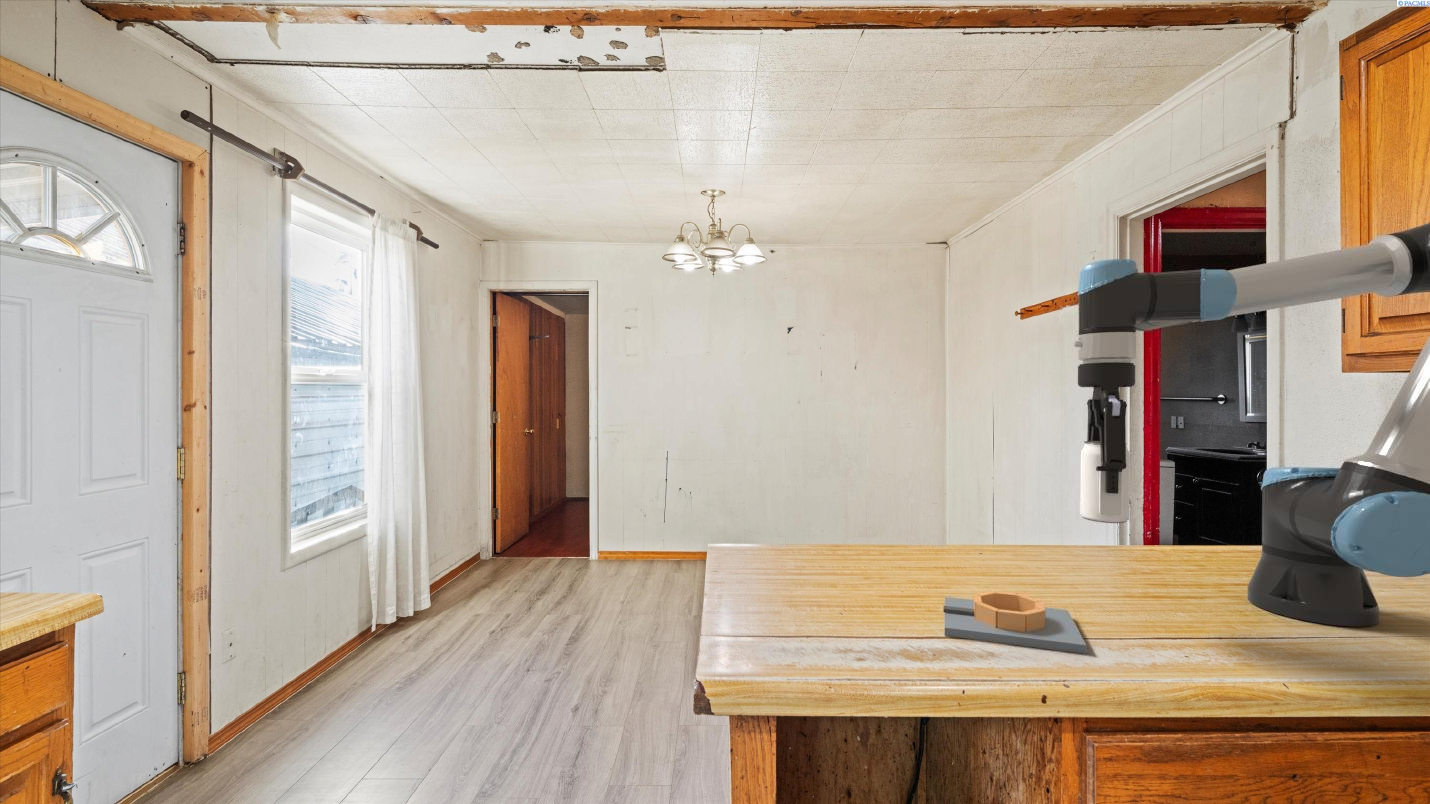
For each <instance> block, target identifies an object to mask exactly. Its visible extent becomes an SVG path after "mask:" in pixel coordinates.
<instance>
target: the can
mask: <svg viewBox="0 0 1430 804" xmlns="http://www.w3.org/2000/svg"><path fill="white" fill-rule="evenodd" d="M1083 444H1084V445H1083V447H1082V449H1081V451H1080V471H1079V472H1080V477H1079V479H1080V481H1079V482H1080V488H1079V489H1080V490H1079V493H1080V494H1079V495H1080V496H1079V497H1080V498H1079V499H1080V500H1079V507H1080V508H1079V512H1080V513H1079V514H1080V516H1081V517H1082V519H1084V520H1086V521H1091V522H1096V523H1104V524H1125V523H1127V522H1128V521H1129V520H1130V502H1131V501H1130V496H1131V495H1130V490H1131V486H1130V485H1131V483H1130V481H1131V479H1130V478H1131V455H1130V454H1131V453H1130V451H1129V449H1128V448H1127V446H1126V468H1125V469H1123V470H1122V478H1121V515H1107V514H1099V471H1096V467H1097V466H1101V449H1100V441H1087V440H1086V441H1084V442H1083ZM1127 444H1128V443H1127V442H1126V445H1127Z"/></svg>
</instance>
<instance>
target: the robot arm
mask: <svg viewBox="0 0 1430 804" xmlns="http://www.w3.org/2000/svg"><path fill="white" fill-rule="evenodd" d="M1419 293H1420V294H1423V293H1430V222H1428V223H1425V224H1422V225H1419V226H1415V227H1412V228H1409V229H1406V230H1401V231H1399V232H1393V233H1387V234H1383V235H1382V234H1381V235H1378V236H1376V237H1374V238H1373V239H1372V240H1371V241H1369V242H1368V244H1365V245H1364V244H1363V245H1359V246H1358V245H1357V246H1353V247H1348V248H1343V249H1337V250H1331V251H1327V252H1326V251H1325V252H1320V253H1316V254H1310V255H1306V256H1304V255H1303V256H1299V257H1294V258H1289V259H1284V260H1282V259H1281V260H1277V261H1272V262H1266V263H1262V264H1261V263H1260V264H1256V265H1251V266H1246V267H1239V268H1234V269H1230V270H1226V269H1206V268H1201V269H1195V270H1179V271H1165V272H1164V271H1163V272H1141V271H1140V272H1139V269H1138V267H1137V262H1136V261H1135V260H1133V259H1130V258H1126V259H1125V258H1124V259H1123V258H1113V259H1103V260H1098V261H1093V262H1090V263H1088V264H1086V265H1084V266H1083V267H1082V268H1081V270H1080V272H1079V283H1078V292H1077V297H1078V340H1076V341H1074V342H1073V346H1074V347H1075V348H1078V360H1080V361H1082V363H1080V364H1078V366H1077V385H1078V386H1079V387H1080V388H1092V389H1093V390H1092V398H1090V399H1088V400H1087V402H1086V405H1087V433H1086V434H1087V436H1086V437H1087V440H1086V441H1100V449H1101V466H1097V467H1096V471H1099V514H1107V515H1121V478H1122V470H1123V469H1125V468H1126V447H1127V444H1126V443H1127V442H1126V440H1127V439H1126V435H1127V434H1126V433H1127V432H1126V429H1127V428H1126V414H1127V406H1128V404H1127V401H1124V399H1121V396H1120V388H1132V387H1134V386H1135V385H1136V364H1134V363H1133V362H1132V360H1134V359H1136V358H1137V332H1150V331H1153V330H1157V329H1160V328H1166V327H1172V326H1173V327H1174V326H1180V325H1185V324H1190V323H1196V322H1201V323H1204V322H1206V321H1219V320H1220V321H1221V320H1223V319H1225V318H1228V317H1233V316H1239V315H1245V314H1252V313H1257V312H1263V311H1270V310H1277V309H1282V308H1289V307H1295V306H1300V305H1301V306H1302V305H1306V304H1312V303H1313V304H1314V303H1319V302H1325V301H1332V300H1337V299H1338V300H1339V299H1343V298H1350V297H1355V296H1363V295H1370V294H1376V295H1377V296H1379V297H1384V298H1391V297H1396V296H1397V297H1399V296H1403V295H1411V294H1419ZM1341 464H1342V465H1341V466H1340V467H1311V466H1310V467H1304V466H1303V467H1302V466H1301V467H1299V466H1295V467H1294V466H1277V467H1276V466H1274V467H1270V468H1267V469H1266V470H1265V471H1264V473H1263V476H1262V477H1263V478H1262V485H1261V487H1260V491H1261V497H1262V498H1261V557H1260V559H1259V561H1258V563H1257V565H1256V568H1255V569H1254V570H1253V571H1254V572H1253V574H1252V577H1251V578H1250V579H1249V583H1248V585H1247V600H1248V601H1249V602H1250V603H1251V604H1253V605H1254V606H1255V607H1259V608H1261V609H1263V610H1266V611H1268V612H1272V613H1274V614H1278V615H1281V616H1285V617H1289V618H1293V619H1297V620H1302V621H1306V622H1307V621H1308V622H1311V623H1317V624H1324V625H1331V626H1341V627H1357V628H1358V627H1373V626H1375V625H1378V624H1379V623H1380V607H1379V604H1378V602H1377V600H1376V597H1375V595H1374V592H1373V589H1372V587H1371V585H1370V583H1369V580H1368V578H1367V575H1366V573H1365V571H1367V572H1373V573H1378V574H1381V575H1385V576H1389V577H1396V578H1414V577H1415V578H1416V577H1421V576H1426V575H1430V336H1429V337H1428V339H1427V340H1426V342H1425V343H1424V346H1423V347H1422V349H1421V351H1420V353H1419V355H1418V357H1417V359H1416V361H1415V363H1414V364H1413V365H1412V368H1411V369H1410V372H1409V373H1408V375H1407V377H1406V379H1405V381H1404V383H1403V384H1402V386H1401V388H1400V389H1399V392H1398V393H1397V395H1396V397H1395V399H1394V401H1393V402H1392V404H1391V405H1390V408H1389V410H1388V412H1387V413H1386V415H1385V417H1384V419H1383V421H1382V422H1381V424H1380V426H1379V428H1378V430H1377V432H1376V434H1375V435H1374V437H1373V439H1372V440H1371V442H1370V444H1369V446H1368V448H1367V450H1366V451H1365V452H1364V453H1363V454H1360V455H1357V456H1354V457H1350V458H1346V459H1345V460H1344V461H1343V463H1341Z"/></svg>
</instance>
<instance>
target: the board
mask: <svg viewBox="0 0 1430 804" xmlns="http://www.w3.org/2000/svg"><path fill="white" fill-rule="evenodd" d="M943 613H944V636H946V637H952V638H959V639H960V638H961V639H966V640H967V639H968V640H977V641H983V642H990V643H991V642H992V643H999V644H1005V645H1006V644H1007V645H1013V646H1022V647H1029V648H1038V649H1045V650H1052V651H1053V650H1054V651H1059V652H1060V651H1062V652H1066V653H1067V652H1068V653H1069V652H1070V653H1075V654H1076V653H1077V654H1083V655H1086V654H1087V644H1086V642H1085V640H1084V638H1083V636H1082V634H1081V633H1080V630H1079V628H1078V627H1077V625H1076V623H1075V621H1074V620H1073V618H1072V615H1071V614H1070V611H1069V610H1068V609H1062V608H1052V607H1045V606H1044V604H1043V602H1042V601H1041V600H1039V599H1035V598H1033V597H1030V596H1027V595H1025V594H1021V593H1017V592H1016V593H1015V592H1005V591H996V590H990V591H986V592H985V591H984V592H979V593H975V594H973V599H969V598H968V599H967V598H959V597H951V596H945V597H944V605H943Z"/></svg>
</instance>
